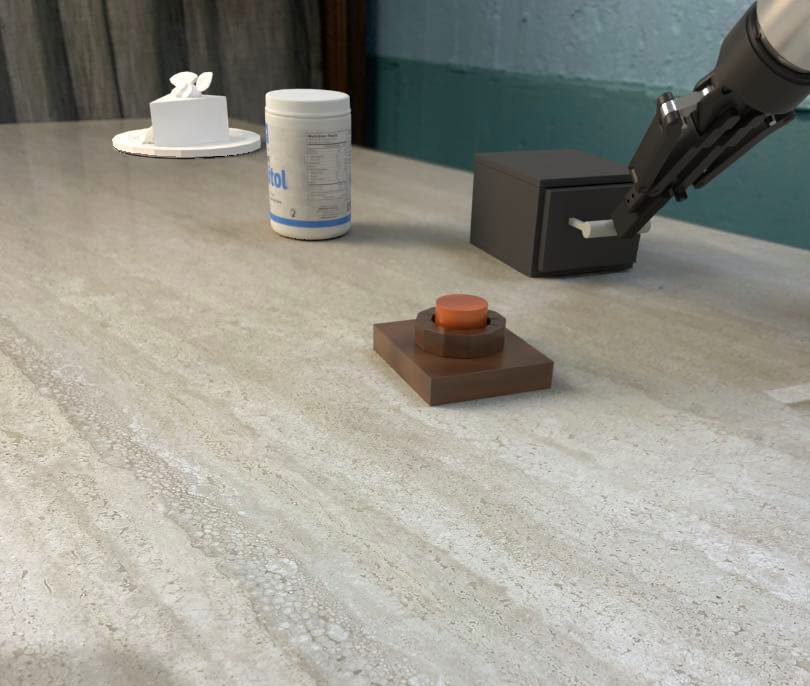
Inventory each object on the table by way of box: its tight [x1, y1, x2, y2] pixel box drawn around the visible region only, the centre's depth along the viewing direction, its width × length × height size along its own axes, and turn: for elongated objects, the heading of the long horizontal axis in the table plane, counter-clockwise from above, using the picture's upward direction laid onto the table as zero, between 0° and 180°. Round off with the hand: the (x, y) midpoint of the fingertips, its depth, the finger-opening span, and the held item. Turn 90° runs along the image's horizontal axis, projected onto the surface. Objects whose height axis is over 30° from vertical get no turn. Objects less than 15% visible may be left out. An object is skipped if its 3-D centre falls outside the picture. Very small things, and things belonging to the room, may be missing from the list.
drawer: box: [537, 182, 652, 272], centre depth 91 cm, size 18×11×8 cm, turn 22°
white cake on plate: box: [112, 71, 262, 157], centre depth 147 cm, size 25×25×11 cm
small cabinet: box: [469, 147, 634, 279], centre depth 94 cm, size 15×13×10 cm
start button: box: [434, 293, 489, 330], centre depth 66 cm, size 4×4×2 cm
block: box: [372, 306, 555, 408], centre depth 68 cm, size 12×10×4 cm
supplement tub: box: [264, 88, 352, 241], centre depth 99 cm, size 10×10×15 cm
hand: (621, 226), depth 83 cm, fingers closed
